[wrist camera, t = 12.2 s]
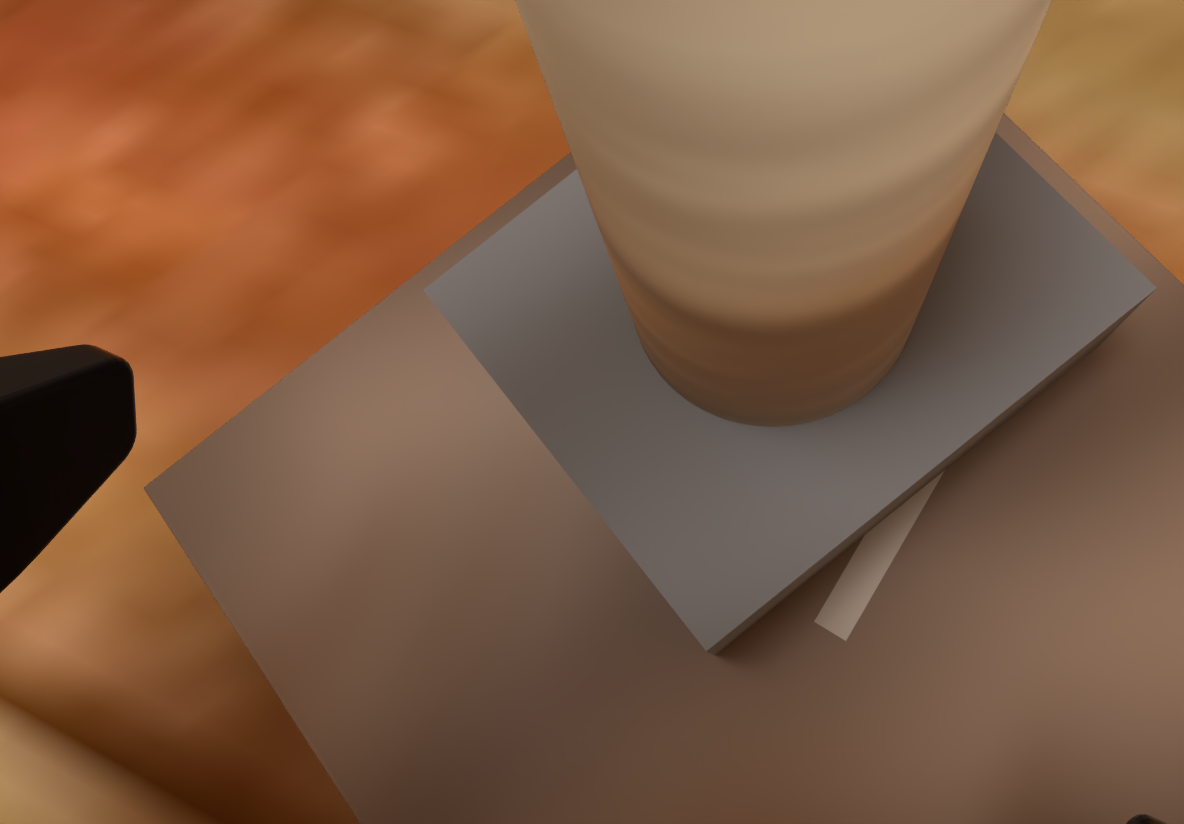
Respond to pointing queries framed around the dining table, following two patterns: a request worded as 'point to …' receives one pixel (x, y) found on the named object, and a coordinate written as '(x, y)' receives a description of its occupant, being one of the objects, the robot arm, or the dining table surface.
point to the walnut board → (658, 635)
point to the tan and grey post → (779, 276)
